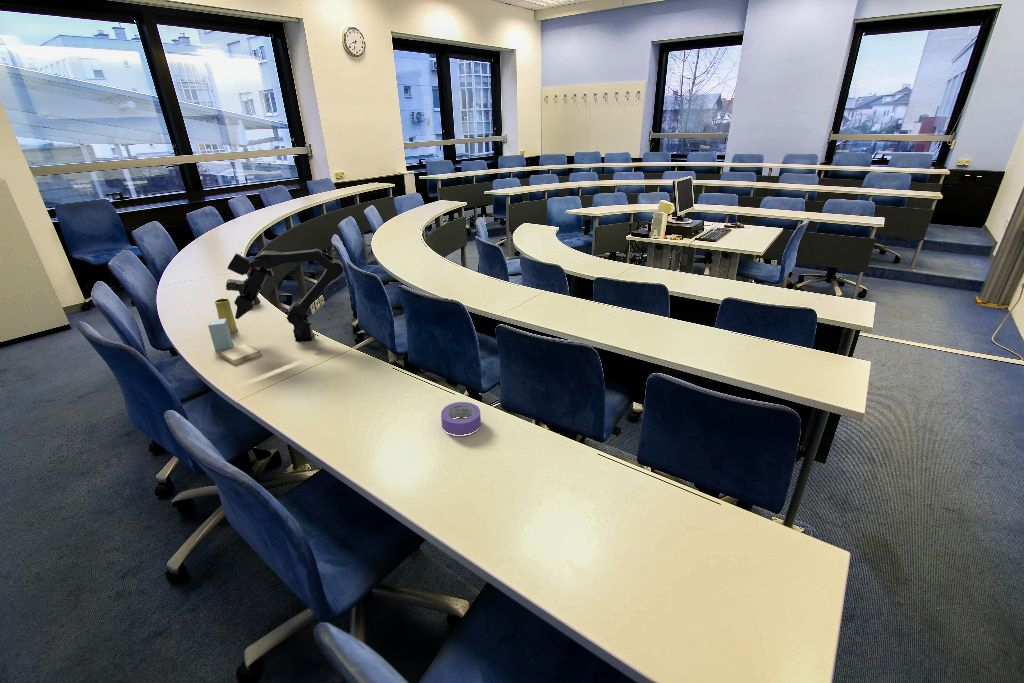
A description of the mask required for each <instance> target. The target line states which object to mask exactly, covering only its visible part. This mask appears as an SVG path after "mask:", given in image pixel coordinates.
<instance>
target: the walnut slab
mask: <svg viewBox="0 0 1024 683" xmlns="http://www.w3.org/2000/svg"><path fill="white" fill-rule="evenodd" d="M261 356H263V353H261V355H260V356H257V357H255V358H252V359H249V360H246V361H243V362H241V363H238V364H235V365H234V364H233V363H231V362H229V361H228V360H226V359H224V358H222V356H220V357H219V358H221V360H223V361H224V362H227V363H229V364H230V365H231V366H232V365H233V366H237V365H239V364H243V363H245V362H249V361H250V360H253V359H256V358H259V357H261Z"/></svg>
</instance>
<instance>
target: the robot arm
mask: <svg viewBox="0 0 1024 683" xmlns="http://www.w3.org/2000/svg"><path fill="white" fill-rule="evenodd" d="M311 261H314V262H315V261H316V262H317V263H318V264H319V265H320V266H322V268H324V270H323V273H322V275H321V276H320V278H319V279H318V280H317V281H316V283H314V284H313V286H312V287H311V288H310V289H309V291H308V292H307V293H306V294H305V295H304V297H303V298H302V299H301V300H300V301H296V300H294V301H293V303H292V304H291V305H290V306H289V307H288V308H287V316H286V319H287V322H288V323H289V324H291V325H292V326H293V330H292V331H293V336H294V339H295V340H294V342H311V341H313V339H314V337H315V334H316V333H314V332H313V326H312V323H311V322H310V320H311V319H310V318H311V316H310V315H309V314H307V312H308V310H309V308H310V307H311V306H312V305H313V304H314V302H315V301H317V300H316V299H318V298H319V297H320V295H321V294H322V293H323V292H324V290H325V289H326V288H328V285H329V284H331V283H332V282H334V281H335V280H336V279H338V278H339V277H341V275H342V274H343V273H344V264H343V262H342V261H341V260H340V259H338V258H334V256H331V255H329V254H328V253H326V252H324V251H322V250H321V248H320V249H319V248H314V249H306V250H297V251H295V250H294V251H286V252H281V251H276V250H263V251H261V252H260V253H259V254H258V256H255V257H253V258H251V259H248V258H247V257H244V256H242V255H241V254H239V253H238V252H236V253H235V254H234V256H233V258H232V259H231V260H230V262H229V264H228V265H227V270H229V271H231V272H234V273H236V274H238V275H240V276H245V275H248V276H247V278H245V281H244V280H240V279H232V278H228V279H227V280H226V284H225V287H226V288H225V290H226V291H229V292H230V291H232V292H233V291H234V292H238V293H240V294H241V295H240V294H239V295H237V296H236V298H235V300H234V302H233V303H234V305H235V306H236V310H235V311H236V312H235V316H234V319H235V320H236V319H237V320H239V319H241V317H243V316H244V315H246V314H247V313H249V311H251V310H252V309H253V308H254V307H255V305H254V303H255V302H254V300H255V299H256V297H258V296H259V293H260V291H261V289H262V287H263V286H264V284H265V281H266V279H267V277H270V278H274V275H275V273H274V272H273V268H275V267H279V266H281V265H285V264H291V263H293V264H294V263H302V262H311ZM250 269H251V270H250ZM248 273H249V274H248ZM239 291H240V292H239Z"/></svg>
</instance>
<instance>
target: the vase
mask: <svg viewBox="0 0 1024 683" xmlns="http://www.w3.org/2000/svg"><path fill="white" fill-rule="evenodd" d="M214 304H215V307H216V311H217V318H218V319H225V318H226V320H227V323H228V327H229V331H230V334H233V333H236V332H238V327H237V323H236V319H235V316H234V313H233V309H232V307H231V303H230V300H229V298H226V297H225V298H224V297H223V298H217V299H215V300H214Z"/></svg>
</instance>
